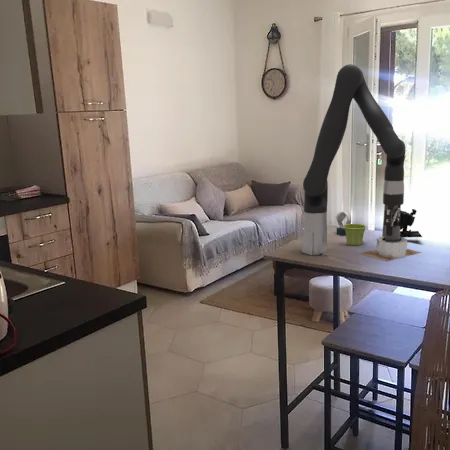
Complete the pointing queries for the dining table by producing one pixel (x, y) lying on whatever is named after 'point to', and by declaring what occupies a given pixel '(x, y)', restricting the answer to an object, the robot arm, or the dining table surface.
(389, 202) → the robot arm
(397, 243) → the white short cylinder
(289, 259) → the dining table surface
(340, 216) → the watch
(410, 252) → the mount board
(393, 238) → the gray cylinder
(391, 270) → the dining table surface
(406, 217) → the vintage camera
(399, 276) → the dining table surface
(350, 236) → the plant pot
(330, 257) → the dining table surface
